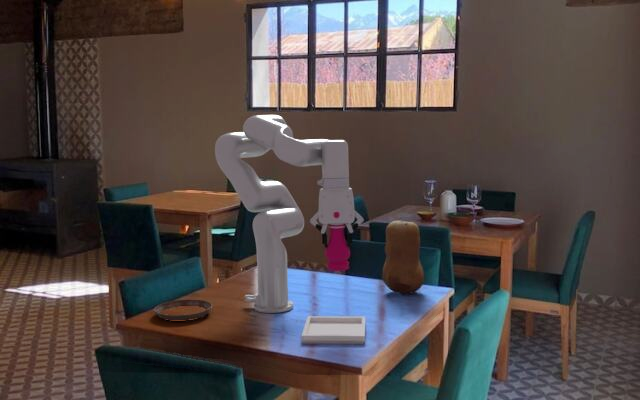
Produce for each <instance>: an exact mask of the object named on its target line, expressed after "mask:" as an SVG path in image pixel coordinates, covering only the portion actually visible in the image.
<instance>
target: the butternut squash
mask: <svg viewBox="0 0 640 400" xmlns="http://www.w3.org/2000/svg"><path fill="white" fill-rule="evenodd" d="M419 228H420V227H419V225H417V224H416V223H415V222H413V221H405V220H398V219H397V220H393V221H391V222H390V223H388V225H386V229H385V246H384V252H385V255H386V258H385V262H384V264H383V267H382V278H381V279H382V281H383V283H384V284H385V285H386V287H387V288H388V289H389V290H390V291H392V292H395V293H398V294H401V295H402V296H404V295H405V296H407V295H411V294H413V293H416V292H417V291H419V290H420V289H421V287H422V286H423V283H424V280H425V279H424V277H425V275H424V269H423V266H422V264H421V261H420V256H419V255H420V250H421V237H420V229H419Z"/></svg>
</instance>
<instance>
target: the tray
mask: <svg viewBox="0 0 640 400" xmlns="http://www.w3.org/2000/svg"><path fill="white" fill-rule="evenodd" d="M301 344H311V345H312V344H313V345H314V344H321V345H322V344H325V345H328V344H329V345H331V344H335V345H339V344H340V345H365V344H366V316H344V315H343V316H338V315H337V316H335V315H334V316H333V315H332V316H328V315H327V316H326V315H325V316H322V315H321V316H318V315H317V316H316V315H315V316H310V315H308V316H307V317H306V320H305V324H304V326H303V330H302V334H301Z"/></svg>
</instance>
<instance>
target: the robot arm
mask: <svg viewBox="0 0 640 400" xmlns="http://www.w3.org/2000/svg"><path fill="white" fill-rule="evenodd" d="M242 130H243V131H237V132H236V131H235V132H233V131H232V132H227V133H225V134H222V135H220V136H219V137H218V139H217V140H216V142H215V144H214V146H215V147H214V156H215V160H216V162H217V165H218V166H219V168H220V170H221V171H222V173H223V174H224V175H225V176H226V177H227V179H228V180H229V182H230V184H231V186H232V187H233V188H234V191H235V192H236V194H237V196H238V198H239V199H240V201H241V203H242V204H243V207H244V208H246V210H247V211H248V212H251V213H257V214H256V215H255V216H254V218H253V221H252V231H253V235H254V239H255V240H254V241H255V247H256V265H257V266H256V267H257V268H256V269H257V293H255V294H245V295H244V301H246V302H247V303H253V309H254V310H255V311H256V312H259V313H265V314H279V313H285V312H288V311H290V310H292V309H293V307H294V303H293V302H292V300H289V289H288V288H289V287H288V286H289V285H288V282H289V279H288V253H287V248H286V246H285V245H284V243H283V241H282V239H284V238H285V239H286V238H289V237H294V236H297V235H299V234H300V233H301V232H303V229H304V226H305V217H304V215H303V213H302V211H301V209H300V207H299V205H298V204H297V202H296V201H295V199H294V197H293V196H292V194H291V193H290V191H289V189H288V188H287V187H286V186H285V184H283V183H282V182H280V181H278V180H267V181H264V180H262V179H261V178H260V177H259V176H258V175H257V173H256V171H255V170H254V168H253V167H252V166H251V165H249V163H247V162H245V161H244V159H245V158H256V157H261V156H263V155H265V154H266V153H267V152H269V151H270V150H272V151H273V152H274V154H275V155H276V157H277V158H278V159H279V160H281V161H282V162H285V163H286V164H287V163H288V164H289V165H292V166H293V167H294V166H295V167H301V168H302V167H310V166H311V167H312V166H321V173H322V174H321V176H322V178H321V179H317V182H316V183H317V185H318V186H322V188H320V189H319V193H318V194H319V195H318V211H317V212H316V213H315V214H314V215H313V216H312V217H311V218H310V219H309V222H310V224H311V225H312V226H314V227H315V228H316V229H317V230H318V231H319V232H320V233H321V240H322V243H321V244H322V245H324V248H326V247H327V245H328V232H327V229H328V226H329V224H345V225H346V228H347V233H346V234H347V235H346V237H347V239H346V242H347V244H348V247H349V248H350V247H351V244H353V233H354V231H356V230H357V228H358V227H359V226H360V225H361V224H362V223H363V222H364V221H365V220H364V218H363V216H361V214H360V213H358V212H357V210H355V200H354V191H353V188H352V187H350V173H349V171H350V169H349V168H350V167H349V166H350V165H349V163H350V162H349V144H348V142H347V141H346V140H344V139H325V138H318V139H317V138H315V139H314V138H312V139H297V138H294V134H293V133H294V132H293V130H292V128H291V126H289V125H288V124H287V122H286V120H285V119H284V118H283V117H282V116H280V115H278V114H257V115H252V116H250V117H248V118H247V119H246V120H245V121H244V124H243V126H242ZM243 158H244V159H243ZM242 159H243V160H242ZM334 212H339V213H340V214H339V215H340V216H339V218H334V216H333V215H334V214H333V213H334ZM355 218H356V219H357V220H356V221H355ZM317 220H318V221H317ZM318 222H319V223H318ZM352 223H353V224H352Z"/></svg>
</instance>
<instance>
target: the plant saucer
mask: <svg viewBox="0 0 640 400" xmlns="http://www.w3.org/2000/svg"><path fill="white" fill-rule="evenodd" d="M178 306H199V307H203V308H205V309H206V310H205V311H202V312H198V313H193V314H184V315H168V314H161V313H160V312H161V311H164V310H166V309H169V308H172V307H178ZM212 307H213V304H212V303H211V302H210V301H207V300H204V299H203V300H202V299H193V298H191V299H189V298H188V299H186V298H185V299H176V300H170V301H167V302H162V303H160V304H158V305H157V306H155V307H154V308H153V311H154V313H156V315H157V316H158V317H159V318H160V319H161V318H163V319H168V320H189V319H195V318H200V317H202V316H204V317H205V315H206V314H207V315H208V314H209V312H210V311H211V309H212ZM207 315H206V316H207ZM202 318H203V317H202ZM163 319H162V320H163ZM200 319H201V318H200Z"/></svg>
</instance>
